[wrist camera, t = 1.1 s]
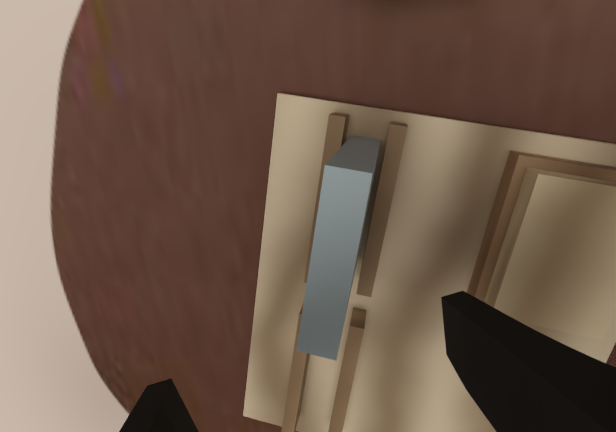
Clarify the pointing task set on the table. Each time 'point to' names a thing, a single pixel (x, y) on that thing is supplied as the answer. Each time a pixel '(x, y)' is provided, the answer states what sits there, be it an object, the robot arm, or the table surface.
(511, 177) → the plate
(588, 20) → the table surface
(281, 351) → the rack
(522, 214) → the offcut top
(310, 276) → the grey blue slab
